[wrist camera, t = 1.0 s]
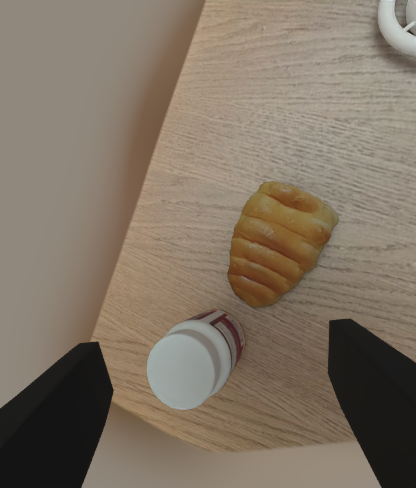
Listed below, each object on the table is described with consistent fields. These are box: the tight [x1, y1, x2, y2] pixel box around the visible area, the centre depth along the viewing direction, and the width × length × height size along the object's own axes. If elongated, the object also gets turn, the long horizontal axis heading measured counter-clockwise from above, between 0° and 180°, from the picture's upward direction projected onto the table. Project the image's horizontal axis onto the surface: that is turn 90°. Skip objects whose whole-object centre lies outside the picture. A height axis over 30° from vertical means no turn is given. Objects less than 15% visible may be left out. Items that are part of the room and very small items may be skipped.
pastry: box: [228, 181, 338, 308], centre depth 21 cm, size 9×7×4 cm
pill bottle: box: [147, 310, 245, 410], centre depth 19 cm, size 5×5×8 cm
